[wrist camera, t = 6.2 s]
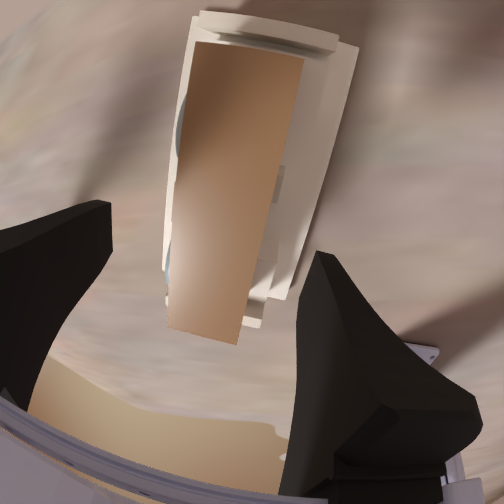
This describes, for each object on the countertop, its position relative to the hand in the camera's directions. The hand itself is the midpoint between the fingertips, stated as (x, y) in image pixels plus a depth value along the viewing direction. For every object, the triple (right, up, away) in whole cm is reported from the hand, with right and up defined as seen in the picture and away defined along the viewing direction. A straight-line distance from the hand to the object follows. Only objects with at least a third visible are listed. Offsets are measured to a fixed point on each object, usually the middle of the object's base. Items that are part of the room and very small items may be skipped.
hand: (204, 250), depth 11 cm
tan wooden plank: (+1, +3, +5) cm, 6 cm away
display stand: (+1, +5, +8) cm, 10 cm away
